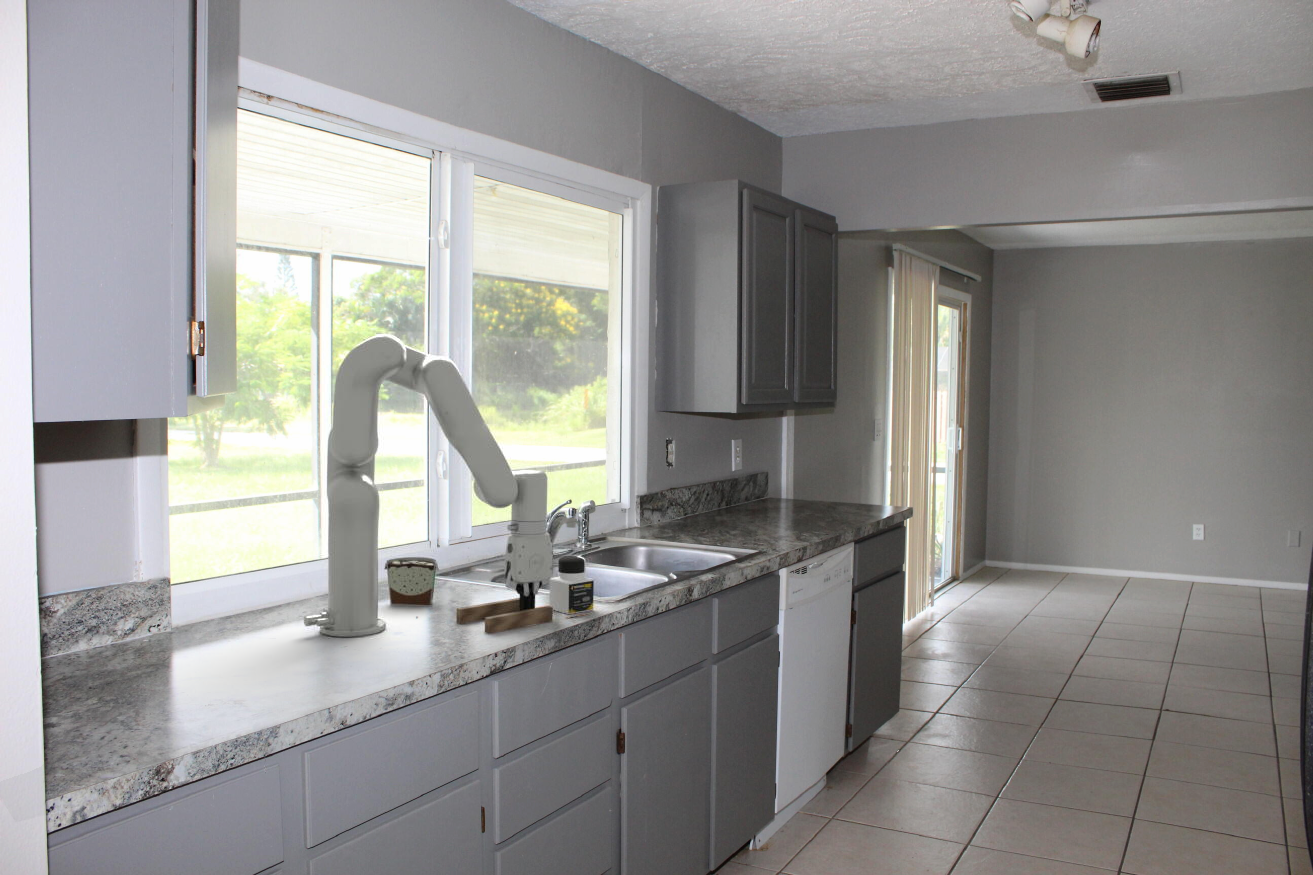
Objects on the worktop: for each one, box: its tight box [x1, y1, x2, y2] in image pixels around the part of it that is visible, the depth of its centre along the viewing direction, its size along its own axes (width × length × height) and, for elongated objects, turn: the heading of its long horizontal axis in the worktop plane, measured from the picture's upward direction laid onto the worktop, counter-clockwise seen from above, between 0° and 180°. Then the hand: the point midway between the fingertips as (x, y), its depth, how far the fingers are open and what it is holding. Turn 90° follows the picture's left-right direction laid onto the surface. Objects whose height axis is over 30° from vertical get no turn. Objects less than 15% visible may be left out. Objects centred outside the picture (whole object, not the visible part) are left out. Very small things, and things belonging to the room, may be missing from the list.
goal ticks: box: [535, 604, 590, 619], centre depth 211 cm, size 6×12×1 cm, turn 44°
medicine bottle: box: [549, 555, 595, 615], centre depth 212 cm, size 7×7×12 cm
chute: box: [455, 597, 554, 635], centre depth 200 cm, size 16×12×3 cm
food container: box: [384, 556, 440, 607], centre depth 217 cm, size 12×6×10 cm, turn 84°
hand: (527, 612), depth 204 cm, fingers closed
